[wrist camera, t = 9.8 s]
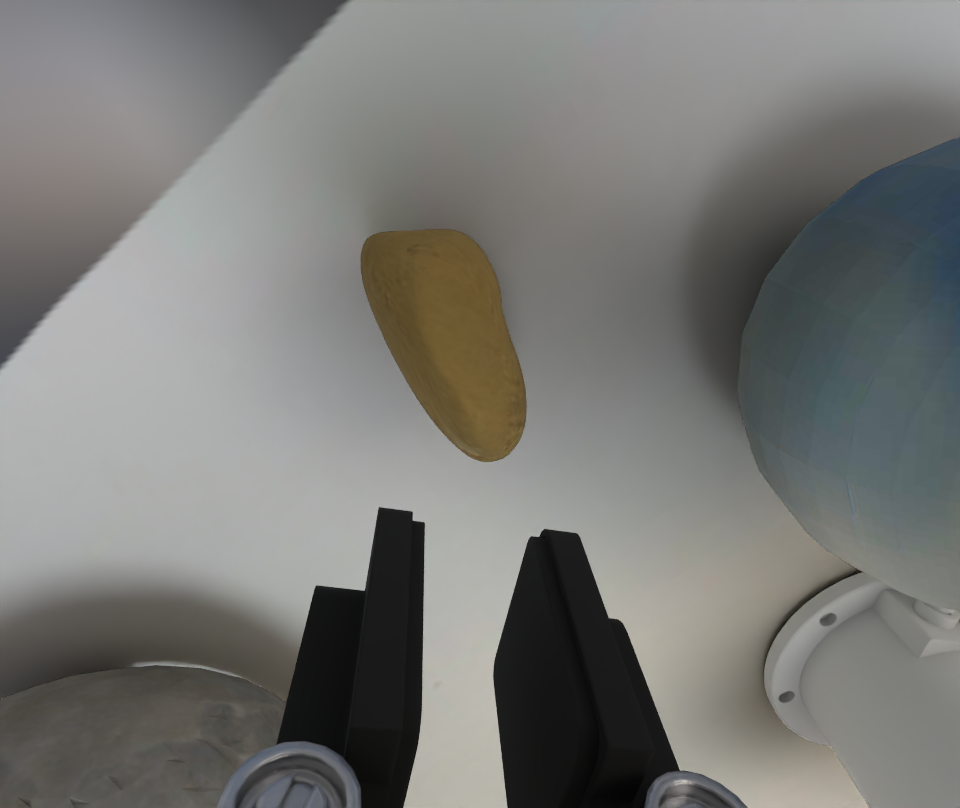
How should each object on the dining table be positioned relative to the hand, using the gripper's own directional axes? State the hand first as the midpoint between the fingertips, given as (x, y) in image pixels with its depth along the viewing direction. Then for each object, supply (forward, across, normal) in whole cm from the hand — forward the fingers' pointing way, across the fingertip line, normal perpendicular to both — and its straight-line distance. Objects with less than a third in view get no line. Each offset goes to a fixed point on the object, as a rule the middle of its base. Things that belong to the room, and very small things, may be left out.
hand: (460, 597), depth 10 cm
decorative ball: (+17, -17, -3) cm, 24 cm away
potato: (+17, 0, 0) cm, 17 cm away
